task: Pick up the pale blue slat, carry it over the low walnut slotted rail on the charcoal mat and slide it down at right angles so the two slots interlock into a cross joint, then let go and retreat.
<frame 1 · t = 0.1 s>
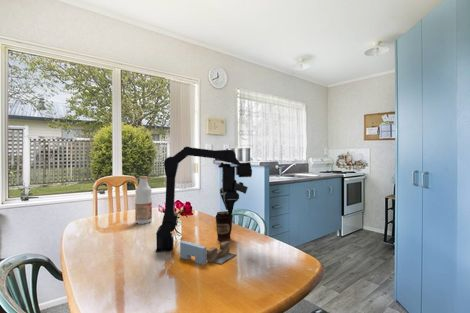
hand: (228, 212, 111), 15 cm above the table, fingers open, 9 cm apart
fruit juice: (143, 222, 149), on the table
slotted base: (218, 256, 97), on the table
pale blue slat: (192, 260, 94), on the table
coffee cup: (224, 239, 118), on the table
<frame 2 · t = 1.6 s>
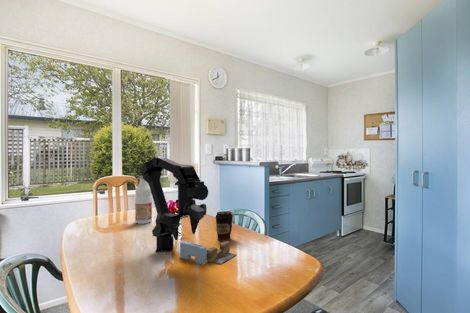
hand: (185, 236, 97), 8 cm above the table, fingers open, 9 cm apart
nothing on the table moved.
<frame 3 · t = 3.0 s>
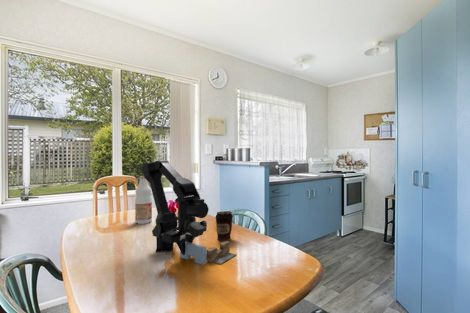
hand: (185, 253, 96), 2 cm above the table, fingers closed on pale blue slat, 2 cm apart
pale blue slat: (192, 260, 94), on the table, touching gripper
everything else where it was.
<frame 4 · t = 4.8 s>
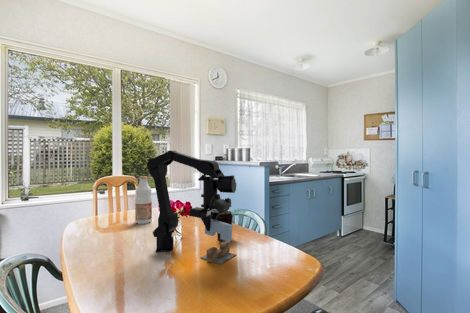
hand: (210, 230, 99), 10 cm above the table, fingers closed on pale blue slat
pale blue slat: (217, 236, 97), point 8 cm above the table, tilted 5°, touching gripper
everything else where it was.
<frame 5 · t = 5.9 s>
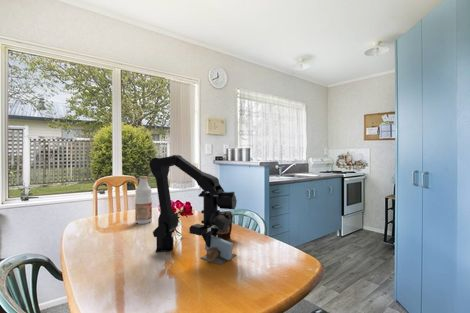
hand: (210, 246, 99), 3 cm above the table, fingers closed on pale blue slat, 2 cm apart
pale blue slat: (217, 253, 97), point 1 cm above the table, tilted 8°, touching gripper, slotted base
everything else where it was.
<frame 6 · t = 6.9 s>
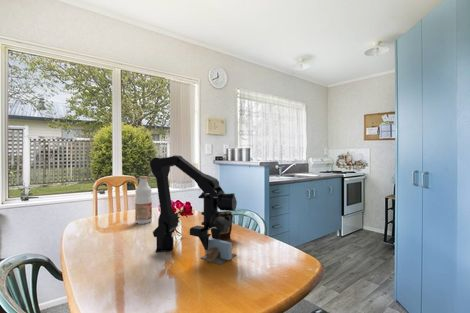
hand: (210, 248, 99), 3 cm above the table, fingers open, 5 cm apart
pale blue slat: (218, 255, 97), resting on slotted base
everything else where it was.
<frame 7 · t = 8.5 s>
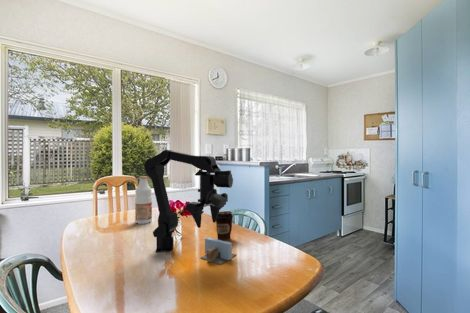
hand: (206, 225, 100), 12 cm above the table, fingers open, 9 cm apart
nothing on the table moved.
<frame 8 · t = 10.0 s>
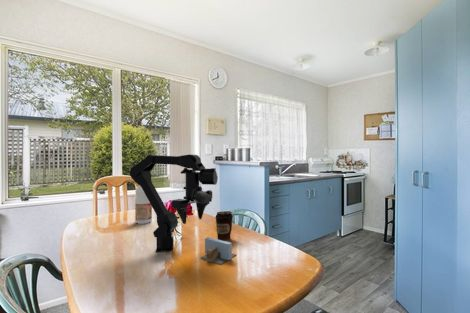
hand: (192, 221, 103), 13 cm above the table, fingers open, 9 cm apart
nothing on the table moved.
at the end: pale blue slat 0.3 cm off-centre on the slotted base, point 0.4 cm above the slotted base's base; pale blue slat tilted 0°; the gripper is holding nothing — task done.
